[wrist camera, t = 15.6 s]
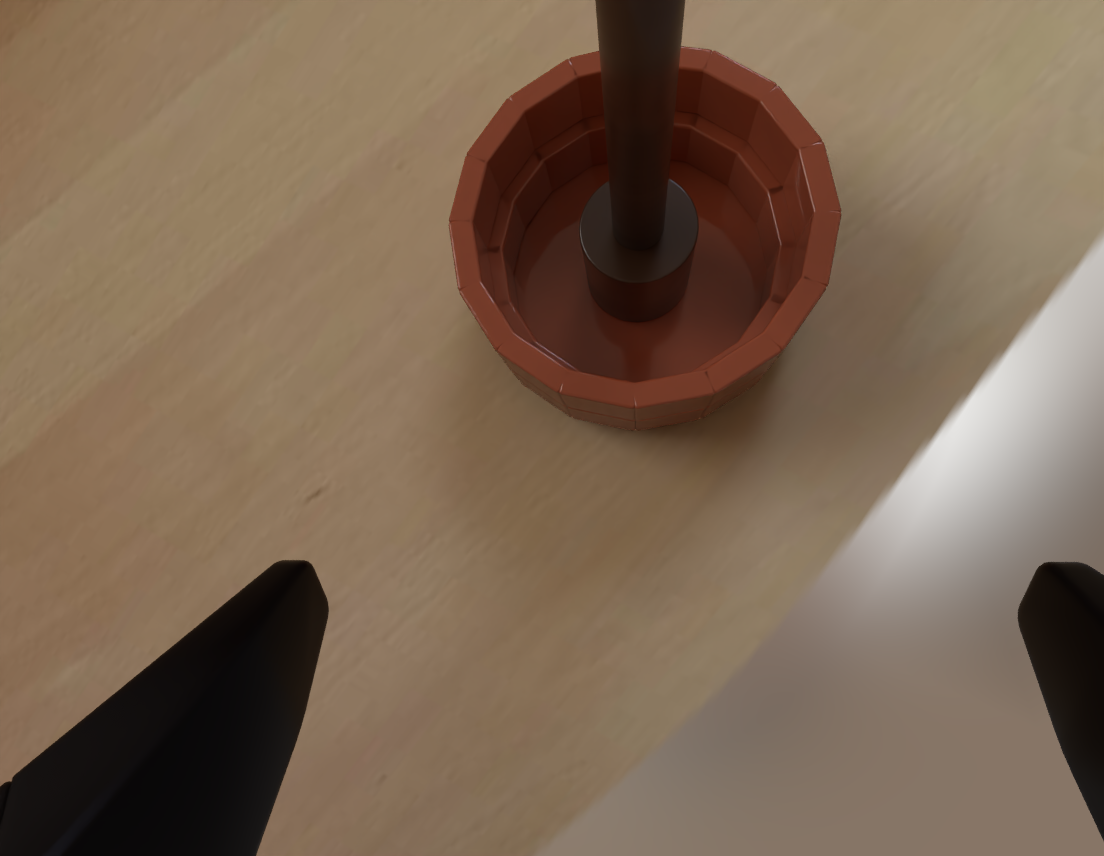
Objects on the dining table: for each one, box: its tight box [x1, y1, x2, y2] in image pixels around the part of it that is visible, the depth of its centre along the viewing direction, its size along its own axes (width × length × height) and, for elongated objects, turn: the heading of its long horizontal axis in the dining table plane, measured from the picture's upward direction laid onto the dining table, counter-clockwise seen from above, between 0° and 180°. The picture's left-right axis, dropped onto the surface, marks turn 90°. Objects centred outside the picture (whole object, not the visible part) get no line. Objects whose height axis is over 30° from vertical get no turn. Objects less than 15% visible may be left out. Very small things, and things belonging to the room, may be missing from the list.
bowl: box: [449, 46, 841, 431], centre depth 17 cm, size 9×9×4 cm
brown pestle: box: [579, 0, 699, 322], centre depth 11 cm, size 3×3×16 cm
